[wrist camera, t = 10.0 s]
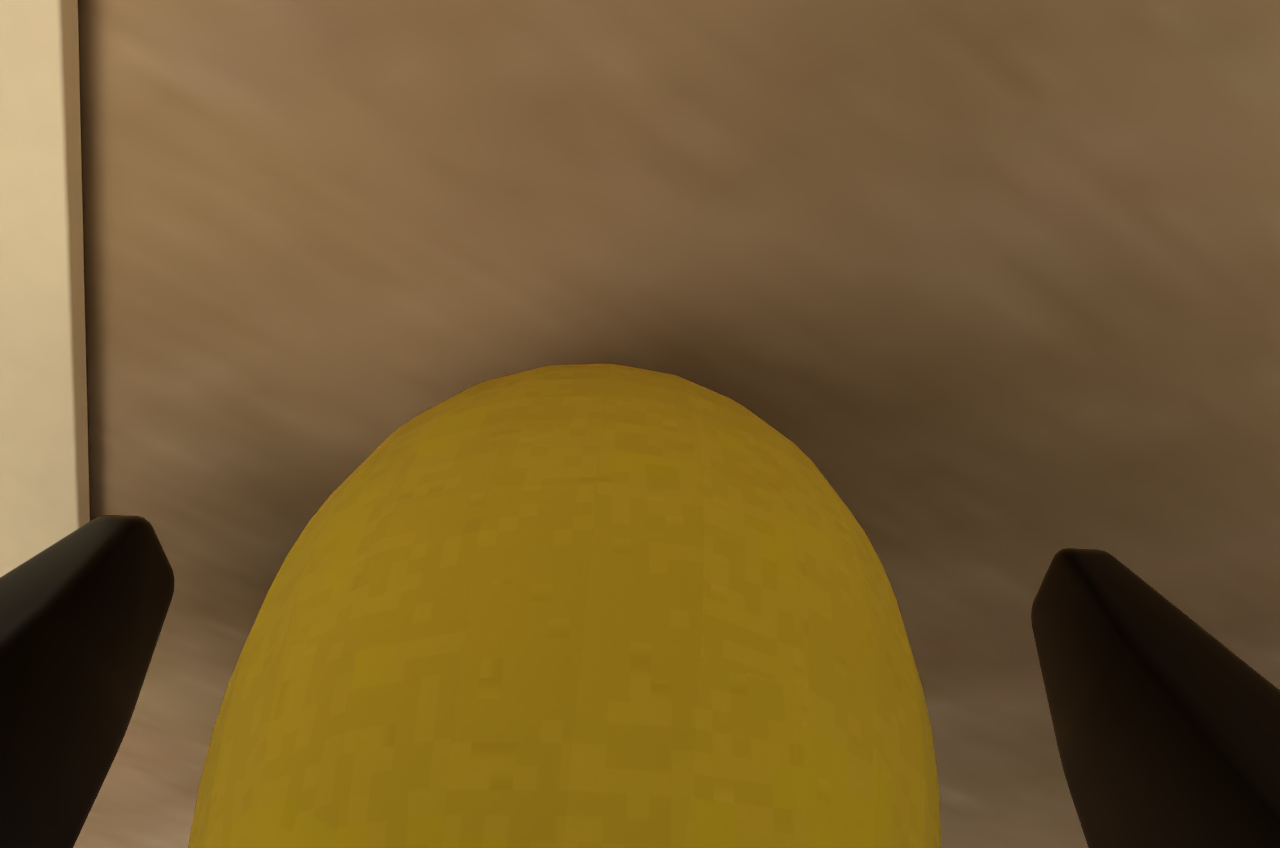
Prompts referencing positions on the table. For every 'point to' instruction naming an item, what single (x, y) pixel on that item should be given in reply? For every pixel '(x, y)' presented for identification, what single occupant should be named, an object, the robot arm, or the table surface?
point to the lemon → (576, 642)
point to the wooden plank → (41, 281)
